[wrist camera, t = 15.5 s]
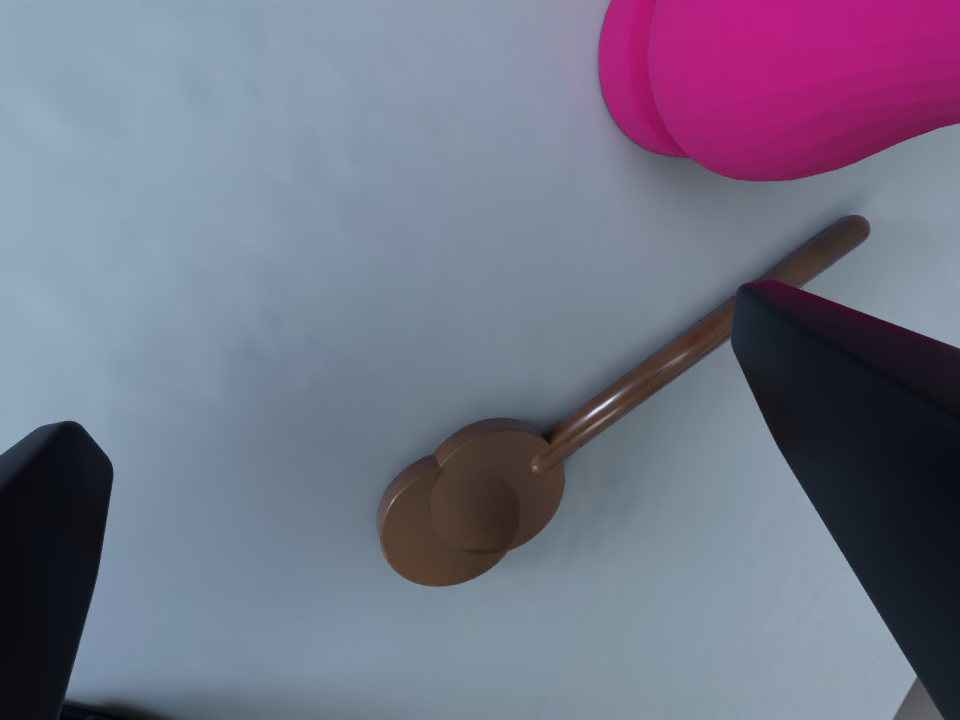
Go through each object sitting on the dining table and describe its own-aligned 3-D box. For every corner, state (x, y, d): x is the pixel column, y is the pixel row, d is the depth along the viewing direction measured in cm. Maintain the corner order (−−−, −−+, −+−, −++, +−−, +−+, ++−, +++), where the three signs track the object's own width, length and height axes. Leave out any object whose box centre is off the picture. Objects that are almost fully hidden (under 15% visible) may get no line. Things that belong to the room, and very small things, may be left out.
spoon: (427, 593, 24) (434, 615, 23) (346, 509, 22) (350, 529, 21) (865, 274, 25) (891, 281, 24) (834, 159, 23) (862, 161, 22)
